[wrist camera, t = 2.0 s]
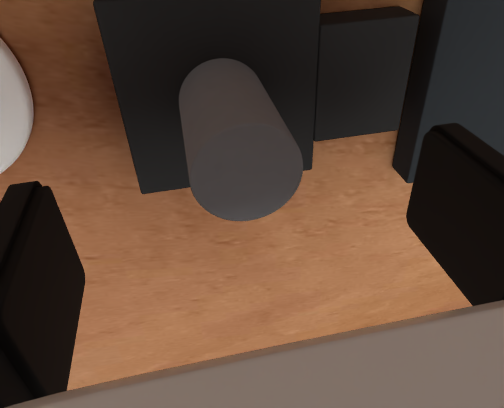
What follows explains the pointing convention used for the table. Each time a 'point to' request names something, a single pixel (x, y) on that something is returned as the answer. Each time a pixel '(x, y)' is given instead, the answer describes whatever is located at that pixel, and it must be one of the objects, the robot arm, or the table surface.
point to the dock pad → (454, 77)
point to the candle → (13, 108)
